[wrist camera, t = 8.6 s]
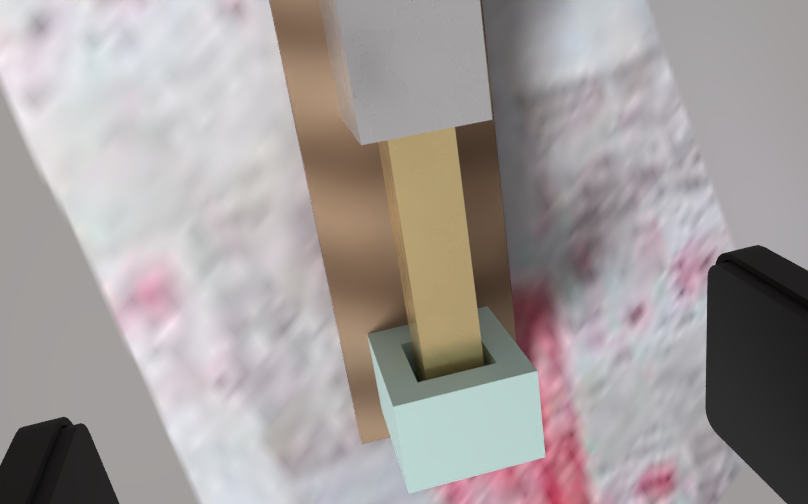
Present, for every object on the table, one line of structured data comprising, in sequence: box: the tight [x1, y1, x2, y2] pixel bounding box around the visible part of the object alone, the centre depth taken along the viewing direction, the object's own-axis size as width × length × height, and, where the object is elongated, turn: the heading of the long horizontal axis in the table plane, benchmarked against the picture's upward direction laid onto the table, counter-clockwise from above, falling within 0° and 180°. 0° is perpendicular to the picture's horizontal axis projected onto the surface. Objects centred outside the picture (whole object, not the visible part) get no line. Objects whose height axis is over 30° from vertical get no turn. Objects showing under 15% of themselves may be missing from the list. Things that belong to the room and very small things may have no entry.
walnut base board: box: [269, 0, 517, 444], centre depth 37 cm, size 34×10×2 cm, turn 8°
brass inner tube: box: [378, 127, 484, 382], centre depth 33 cm, size 20×3×3 cm, turn 8°
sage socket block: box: [367, 306, 545, 493], centre depth 37 cm, size 5×7×8 cm
